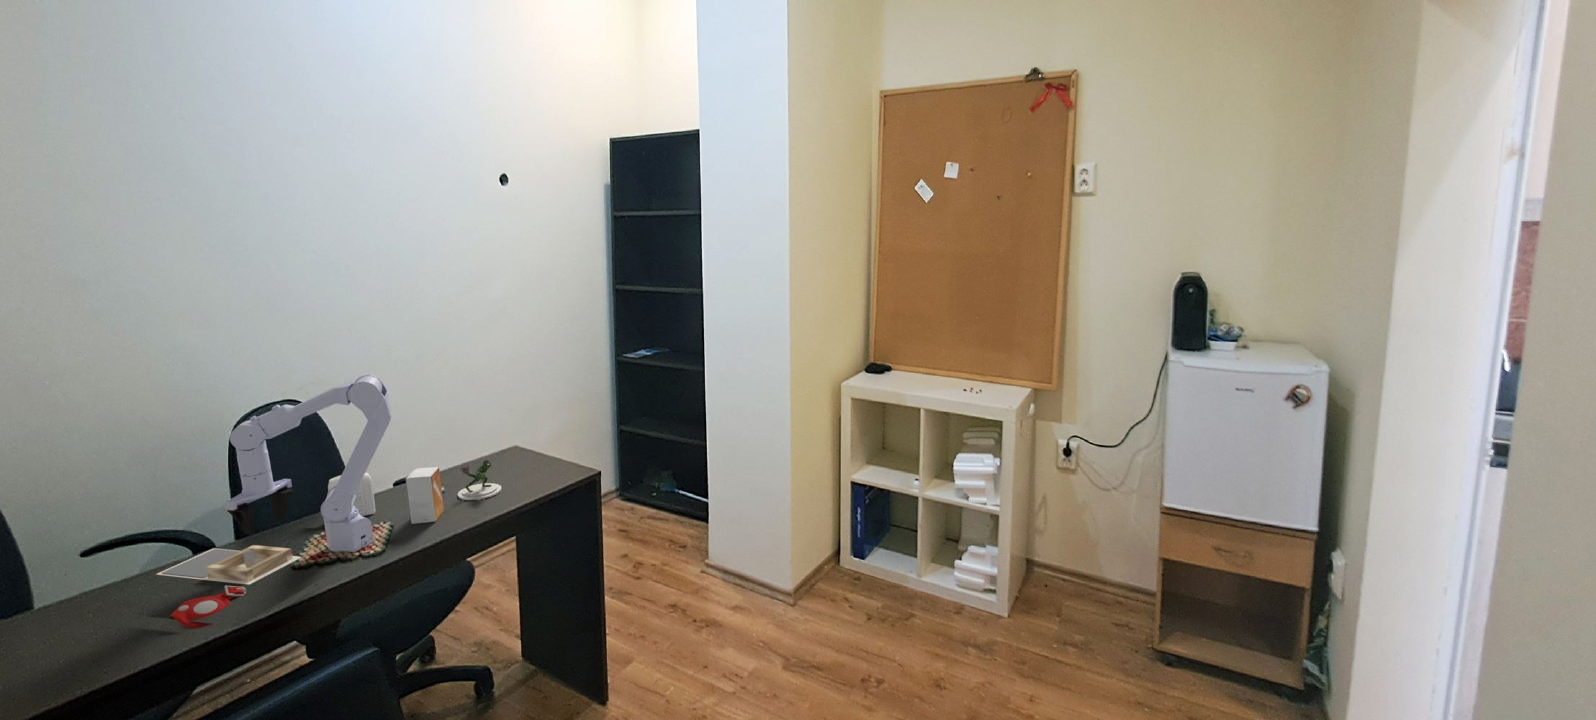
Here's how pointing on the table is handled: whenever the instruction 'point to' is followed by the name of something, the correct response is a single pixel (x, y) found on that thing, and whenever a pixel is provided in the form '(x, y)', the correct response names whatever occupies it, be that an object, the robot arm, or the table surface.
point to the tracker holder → (205, 606)
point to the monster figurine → (479, 489)
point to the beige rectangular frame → (231, 572)
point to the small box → (425, 495)
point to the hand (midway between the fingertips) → (265, 526)
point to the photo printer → (361, 495)
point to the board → (198, 564)
